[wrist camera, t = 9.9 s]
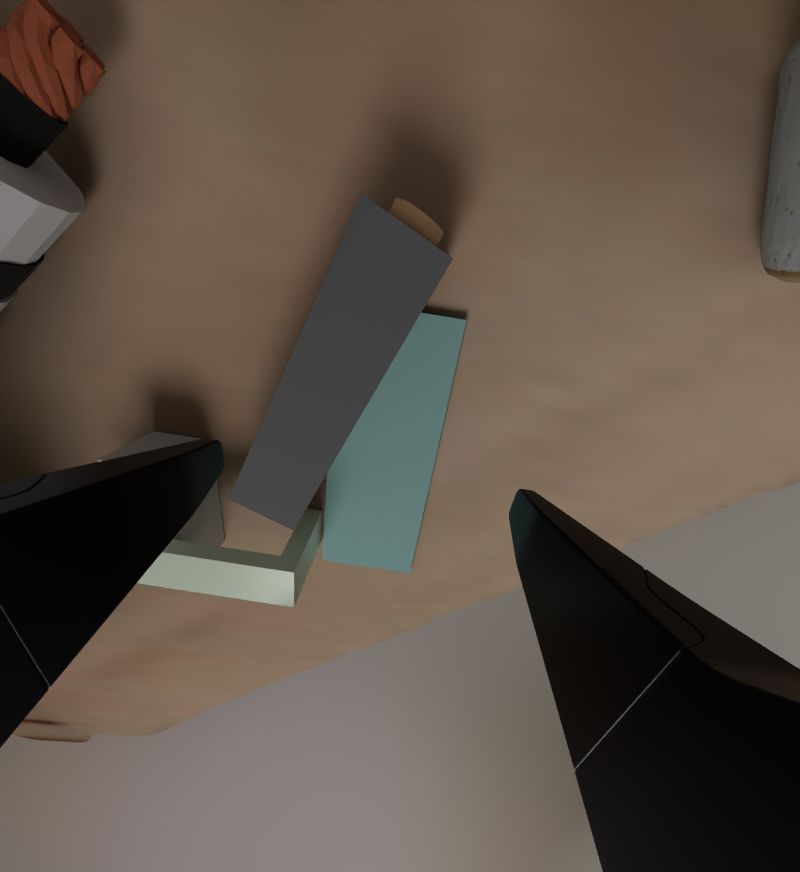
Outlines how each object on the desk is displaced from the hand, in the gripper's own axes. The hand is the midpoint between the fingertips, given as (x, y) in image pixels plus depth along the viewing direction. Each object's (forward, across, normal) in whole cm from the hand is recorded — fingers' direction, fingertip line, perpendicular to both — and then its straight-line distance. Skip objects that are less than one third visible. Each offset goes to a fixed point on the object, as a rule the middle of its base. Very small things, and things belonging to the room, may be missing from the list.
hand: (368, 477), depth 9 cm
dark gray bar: (+10, +3, 0) cm, 10 cm away
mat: (+10, 0, +5) cm, 11 cm away
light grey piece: (+10, +11, +12) cm, 19 cm away
